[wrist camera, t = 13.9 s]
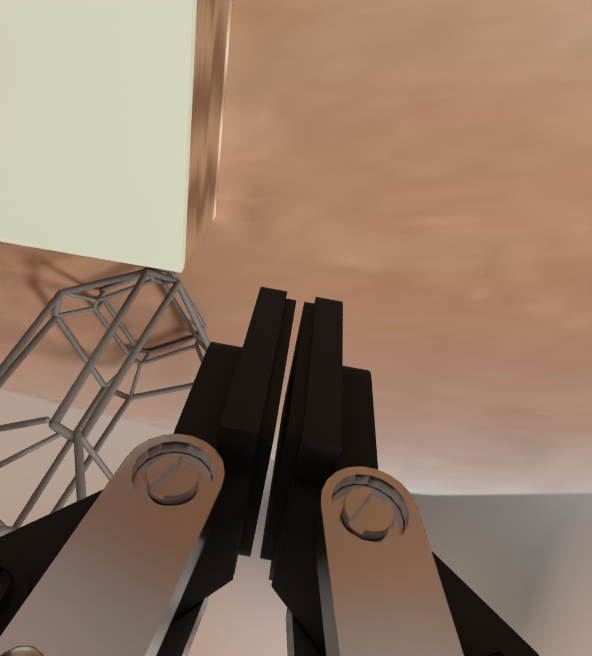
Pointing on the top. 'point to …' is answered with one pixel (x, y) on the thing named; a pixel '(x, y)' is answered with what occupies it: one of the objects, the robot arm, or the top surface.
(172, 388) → the geometric lantern
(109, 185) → the lid
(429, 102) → the top surface
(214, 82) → the walnut box
